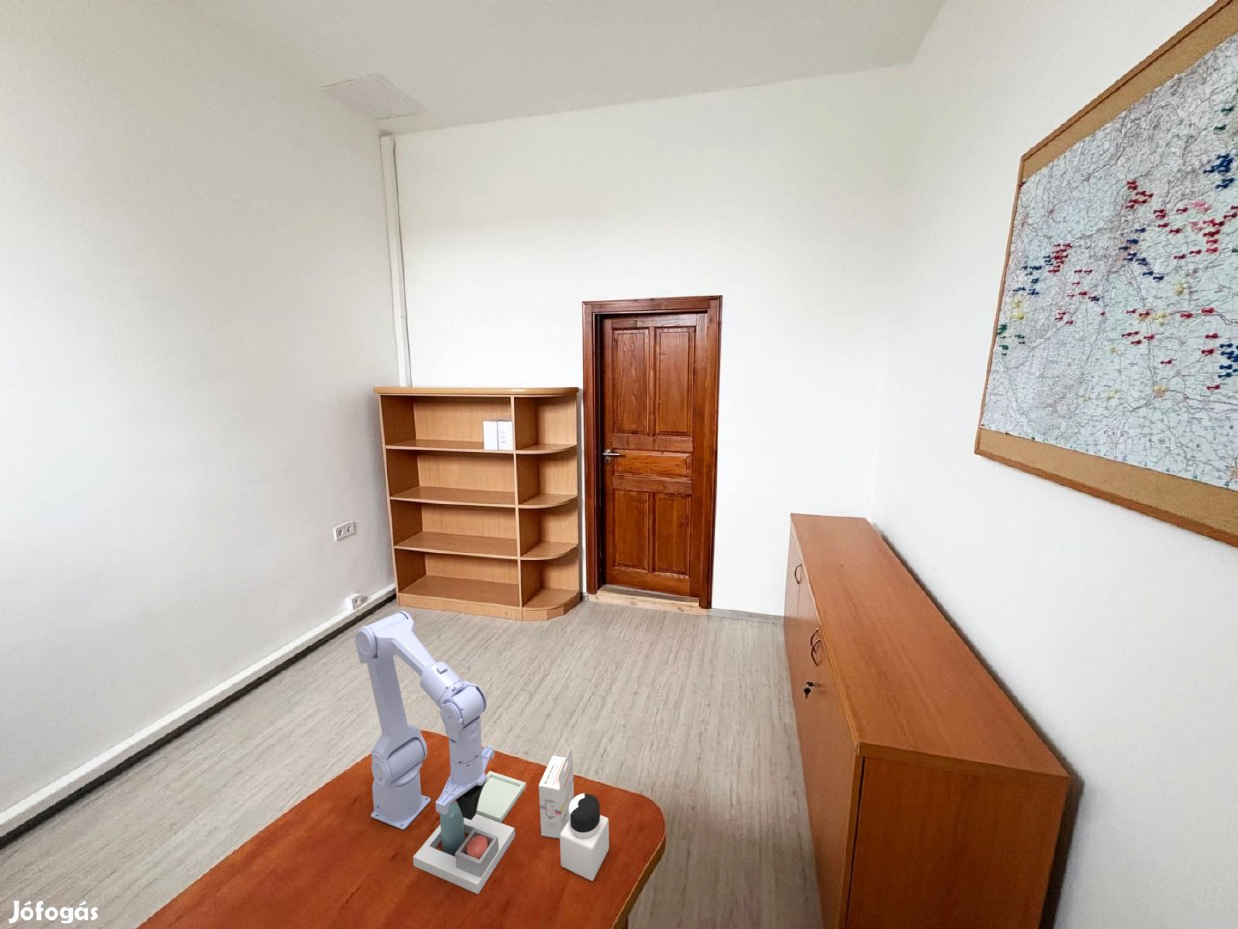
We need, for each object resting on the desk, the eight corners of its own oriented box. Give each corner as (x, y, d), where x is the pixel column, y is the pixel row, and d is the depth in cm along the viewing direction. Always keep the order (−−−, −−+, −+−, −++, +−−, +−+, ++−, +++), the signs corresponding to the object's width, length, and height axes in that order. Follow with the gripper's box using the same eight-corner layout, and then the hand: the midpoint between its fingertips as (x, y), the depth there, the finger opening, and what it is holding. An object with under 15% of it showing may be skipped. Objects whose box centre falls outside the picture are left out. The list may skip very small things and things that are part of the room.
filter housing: (413, 866, 90) (412, 843, 89) (455, 814, 101) (454, 794, 100) (478, 894, 84) (476, 870, 84) (514, 836, 96) (513, 815, 95)
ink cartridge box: (553, 801, 104) (551, 742, 102) (574, 805, 103) (573, 745, 101) (539, 836, 96) (537, 772, 94) (562, 840, 95) (560, 776, 93)
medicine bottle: (609, 849, 93) (608, 795, 91) (592, 882, 86) (591, 825, 85) (578, 835, 96) (577, 783, 94) (560, 866, 89) (558, 811, 88)
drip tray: (462, 809, 102) (462, 804, 102) (489, 775, 111) (489, 771, 111) (500, 823, 99) (500, 818, 98) (525, 787, 108) (525, 782, 108)
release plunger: (463, 863, 88) (462, 850, 87) (475, 845, 91) (475, 833, 91) (479, 870, 86) (479, 857, 86) (492, 852, 90) (491, 839, 90)
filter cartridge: (437, 852, 92) (434, 816, 91) (452, 833, 96) (450, 799, 95) (455, 860, 91) (453, 823, 90) (469, 840, 95) (467, 805, 94)
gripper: (457, 788, 79) (461, 857, 81) (506, 731, 92) (508, 792, 94) (424, 776, 81) (429, 844, 83) (477, 722, 95) (479, 782, 97)
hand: (469, 815), depth 89 cm, fingers closed
